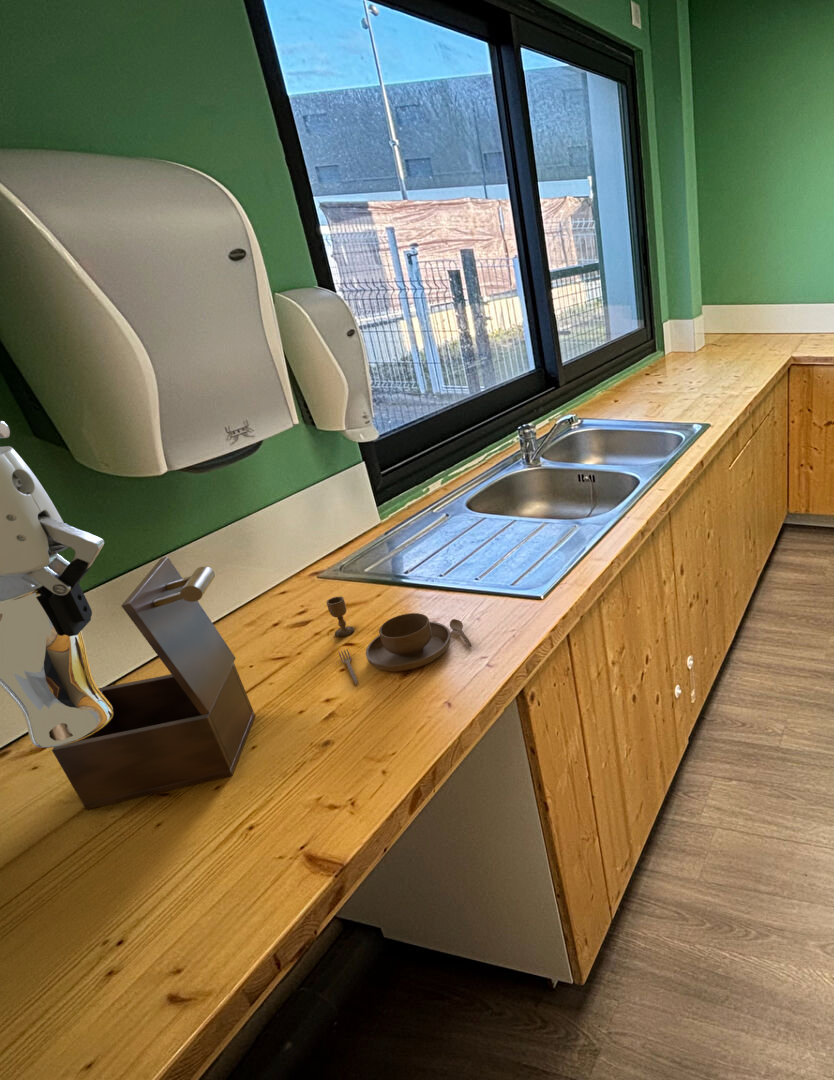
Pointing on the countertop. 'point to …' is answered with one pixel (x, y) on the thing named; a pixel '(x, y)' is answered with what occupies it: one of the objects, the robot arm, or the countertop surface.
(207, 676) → the lid
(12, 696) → the beer glass
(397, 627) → the place setting
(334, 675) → the countertop surface
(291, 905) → the countertop surface
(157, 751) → the chest
